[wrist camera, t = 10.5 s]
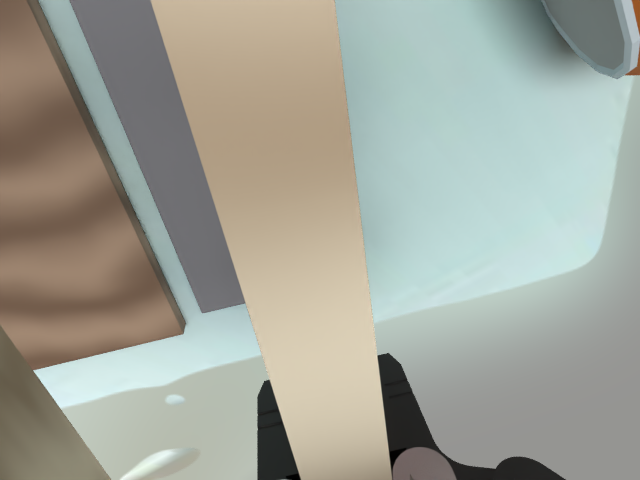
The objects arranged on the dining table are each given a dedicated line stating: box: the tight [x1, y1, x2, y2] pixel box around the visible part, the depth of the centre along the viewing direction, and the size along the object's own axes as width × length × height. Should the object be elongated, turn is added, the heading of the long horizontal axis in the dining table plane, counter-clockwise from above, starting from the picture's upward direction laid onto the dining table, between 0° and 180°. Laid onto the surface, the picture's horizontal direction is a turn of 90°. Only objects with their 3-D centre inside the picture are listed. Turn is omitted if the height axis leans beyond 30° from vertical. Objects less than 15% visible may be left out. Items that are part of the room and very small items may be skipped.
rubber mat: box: [70, 0, 245, 313], centre depth 31 cm, size 30×15×1 cm, turn 10°
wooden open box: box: [0, 0, 392, 480], centre depth 10 cm, size 24×11×6 cm, turn 9°
